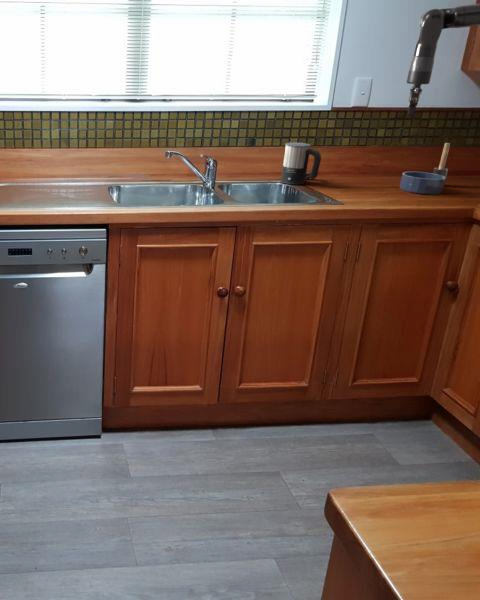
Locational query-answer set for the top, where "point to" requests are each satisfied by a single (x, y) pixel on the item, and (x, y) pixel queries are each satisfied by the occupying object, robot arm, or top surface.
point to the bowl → (422, 182)
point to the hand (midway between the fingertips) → (410, 116)
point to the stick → (444, 156)
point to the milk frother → (299, 163)
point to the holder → (440, 172)
